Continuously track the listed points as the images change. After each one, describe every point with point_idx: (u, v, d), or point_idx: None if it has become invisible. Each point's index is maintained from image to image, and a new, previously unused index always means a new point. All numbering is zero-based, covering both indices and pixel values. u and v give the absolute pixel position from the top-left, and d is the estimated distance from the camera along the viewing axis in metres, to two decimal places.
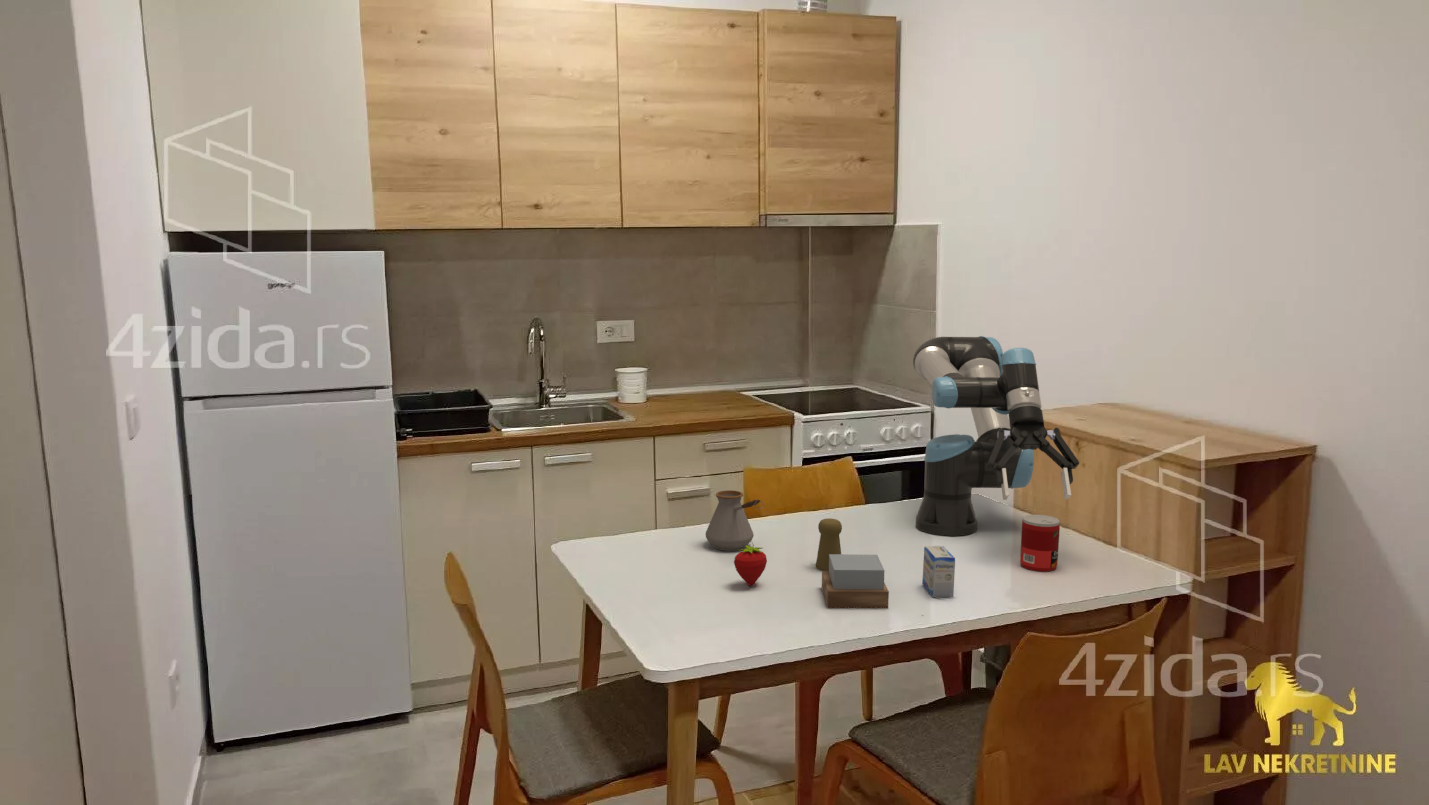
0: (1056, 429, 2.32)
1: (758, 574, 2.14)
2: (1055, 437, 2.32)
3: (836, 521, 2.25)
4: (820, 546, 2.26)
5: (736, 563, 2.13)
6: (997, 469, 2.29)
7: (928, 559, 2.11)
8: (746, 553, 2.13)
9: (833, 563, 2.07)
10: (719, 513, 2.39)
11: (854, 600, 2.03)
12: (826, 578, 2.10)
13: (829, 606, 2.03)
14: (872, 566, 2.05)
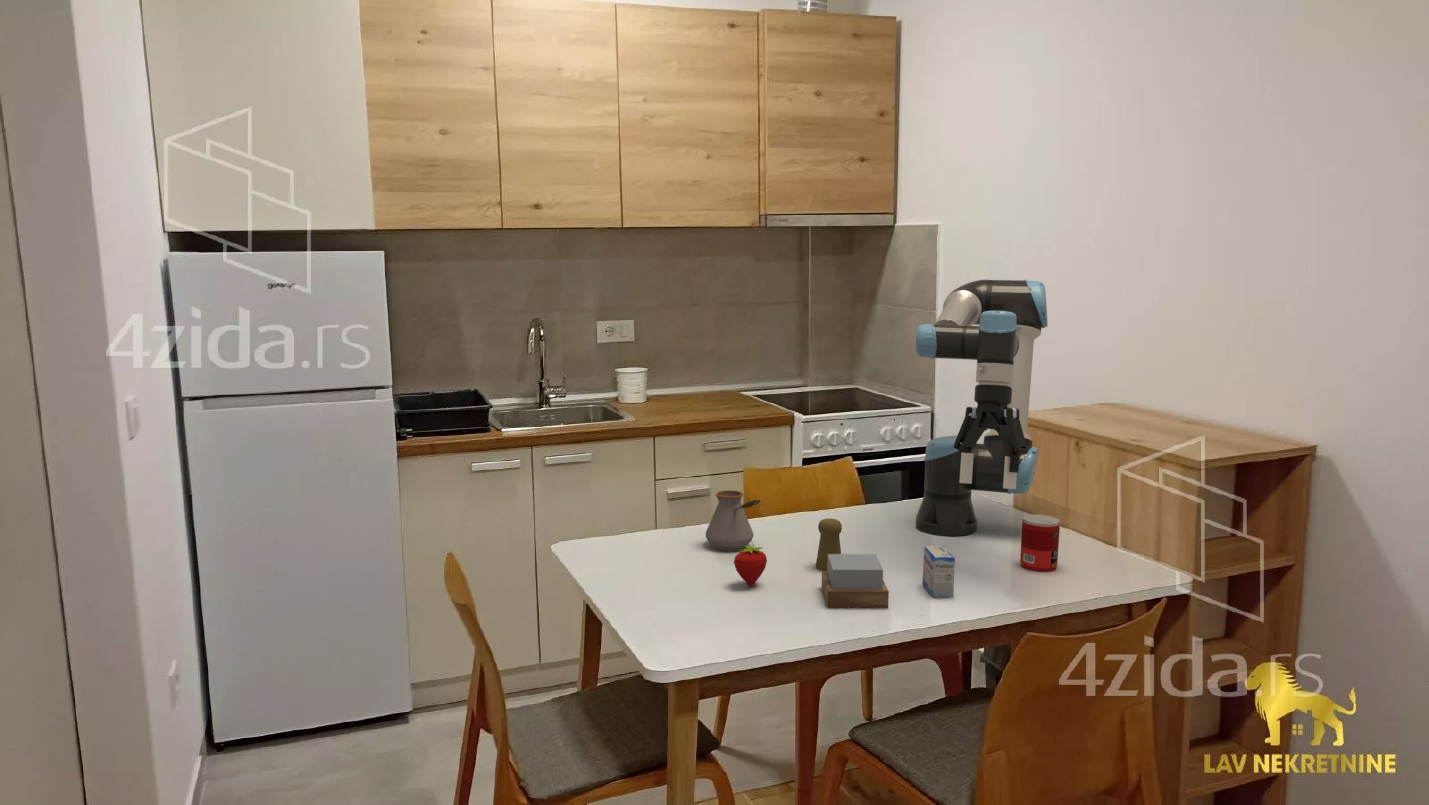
0: (1007, 410, 2.08)
1: (758, 574, 2.14)
2: None
3: (836, 521, 2.25)
4: (820, 546, 2.26)
5: (736, 563, 2.13)
6: (960, 452, 2.21)
7: (928, 559, 2.11)
8: (746, 553, 2.13)
9: (832, 563, 2.07)
10: (719, 513, 2.39)
11: (854, 600, 2.03)
12: (826, 578, 2.10)
13: (829, 606, 2.03)
14: (870, 566, 2.05)
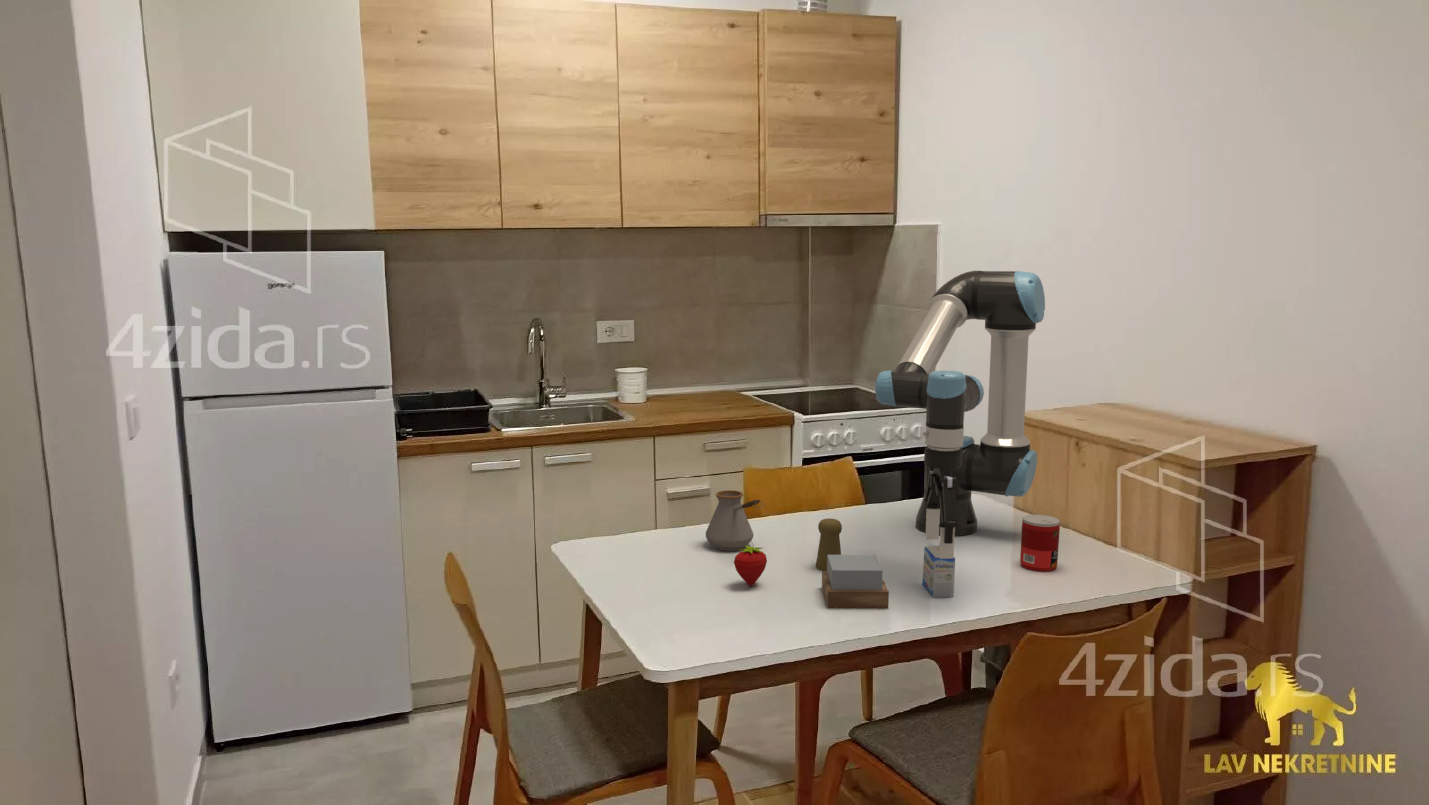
0: (942, 479, 2.02)
1: (758, 574, 2.14)
2: None
3: (836, 521, 2.25)
4: (820, 546, 2.26)
5: (736, 563, 2.13)
6: (928, 507, 2.18)
7: (928, 559, 2.11)
8: (746, 553, 2.13)
9: (831, 563, 2.07)
10: (719, 513, 2.39)
11: (854, 600, 2.03)
12: (826, 578, 2.10)
13: (829, 606, 2.03)
14: (870, 566, 2.05)
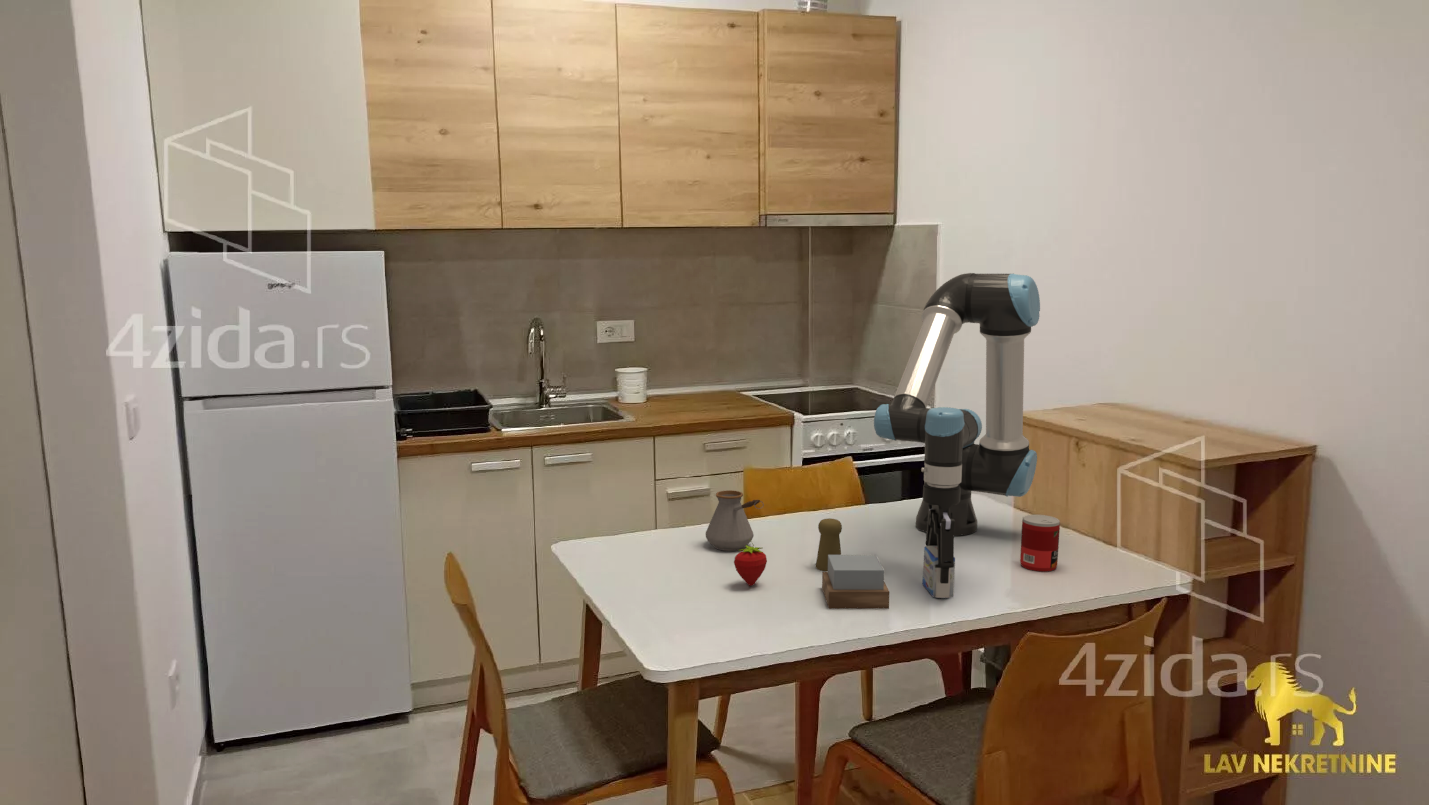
0: (941, 521, 2.04)
1: (758, 574, 2.14)
2: None
3: (836, 521, 2.25)
4: (820, 546, 2.26)
5: (736, 563, 2.13)
6: None
7: (928, 559, 2.11)
8: (746, 553, 2.13)
9: (832, 563, 2.07)
10: (719, 513, 2.39)
11: (854, 600, 2.03)
12: (826, 578, 2.10)
13: (830, 606, 2.03)
14: (871, 566, 2.05)
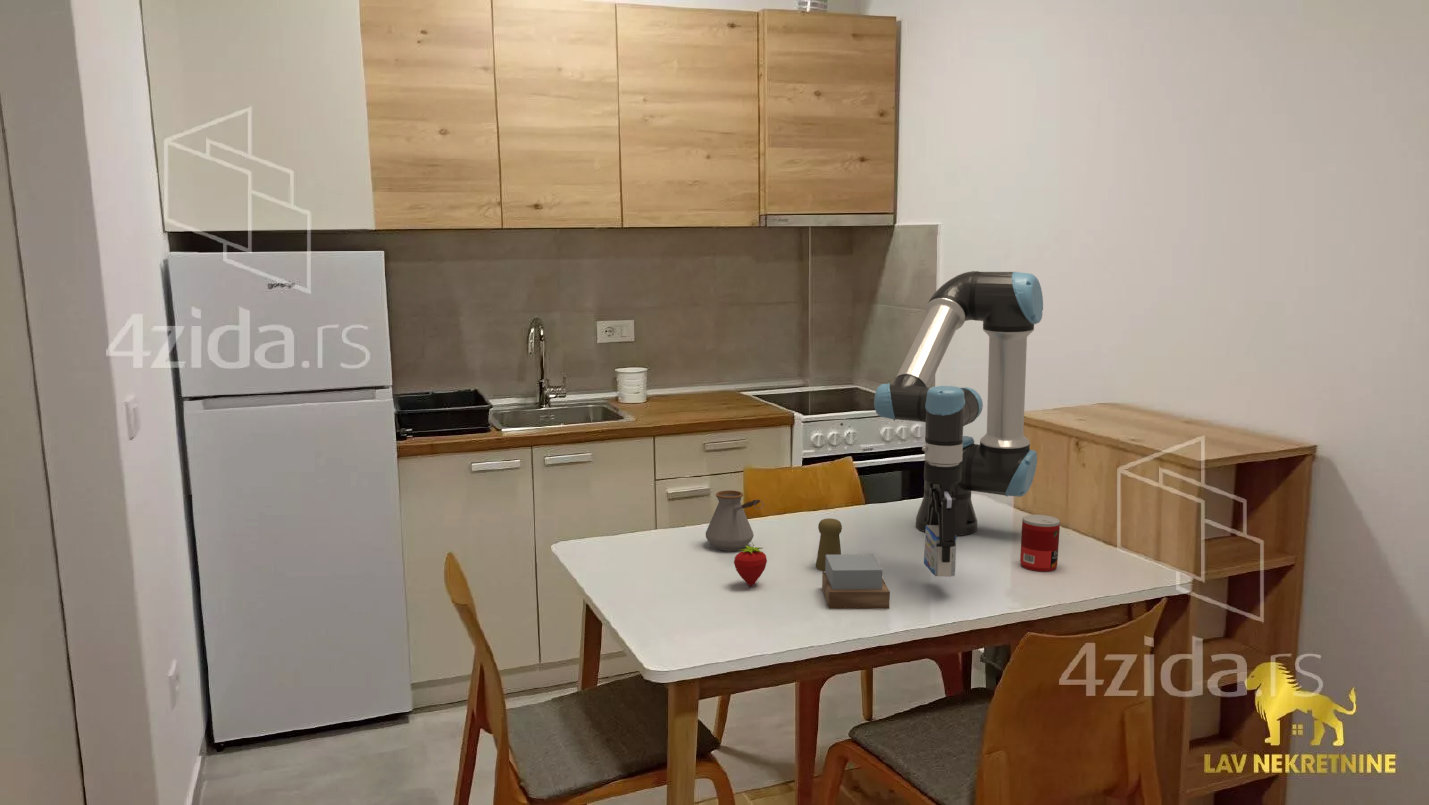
0: (942, 500, 2.03)
1: (758, 574, 2.14)
2: None
3: (836, 521, 2.25)
4: (820, 546, 2.26)
5: (736, 563, 2.13)
6: None
7: (930, 538, 2.11)
8: (746, 553, 2.13)
9: (831, 563, 2.07)
10: (719, 513, 2.39)
11: (855, 600, 2.02)
12: (826, 578, 2.10)
13: (830, 607, 2.03)
14: (869, 566, 2.05)
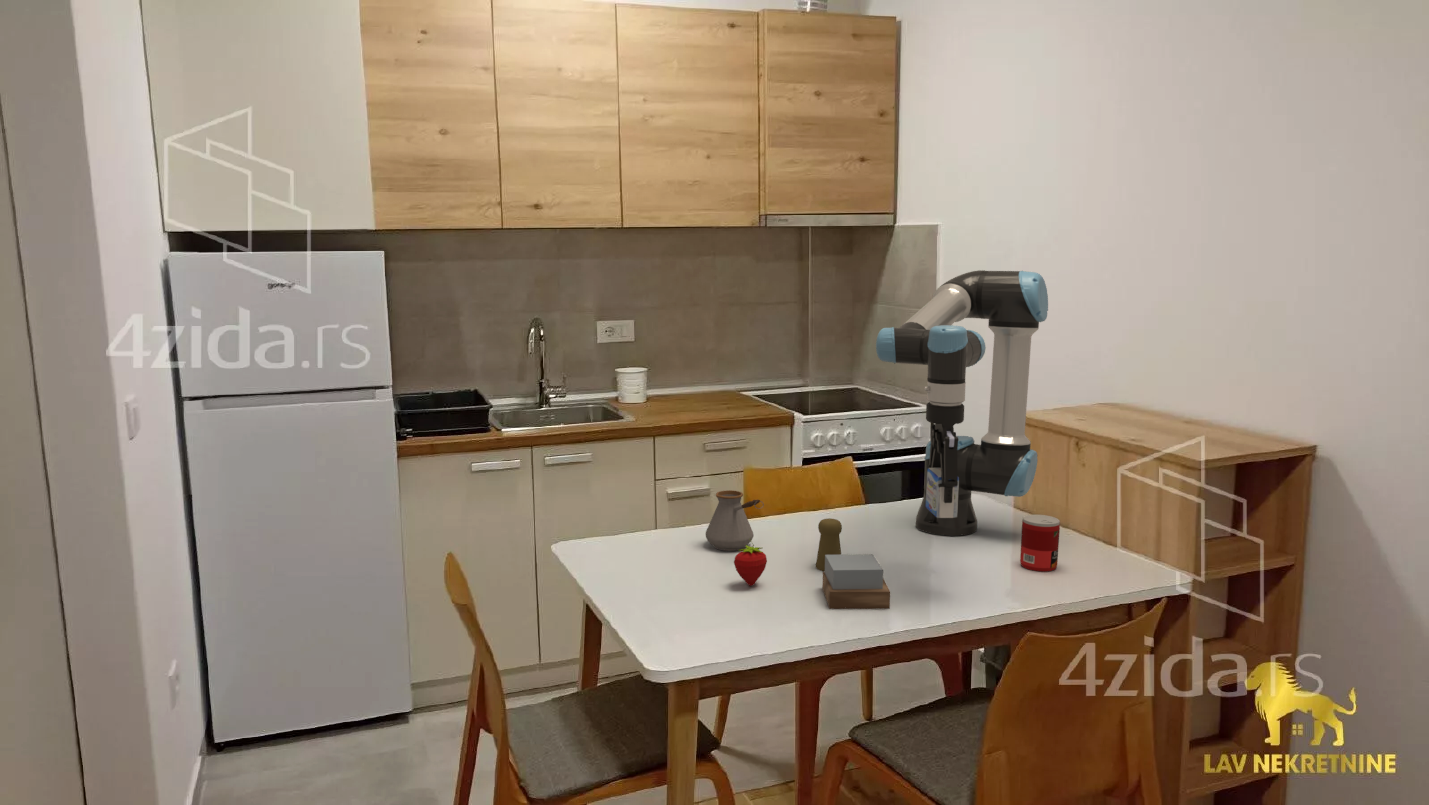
0: (944, 438, 2.01)
1: (758, 574, 2.14)
2: None
3: (836, 521, 2.25)
4: (820, 546, 2.26)
5: (736, 563, 2.13)
6: None
7: (932, 480, 2.09)
8: (746, 553, 2.13)
9: (831, 563, 2.07)
10: (719, 513, 2.39)
11: (855, 600, 2.02)
12: None
13: (831, 606, 2.03)
14: (870, 566, 2.05)
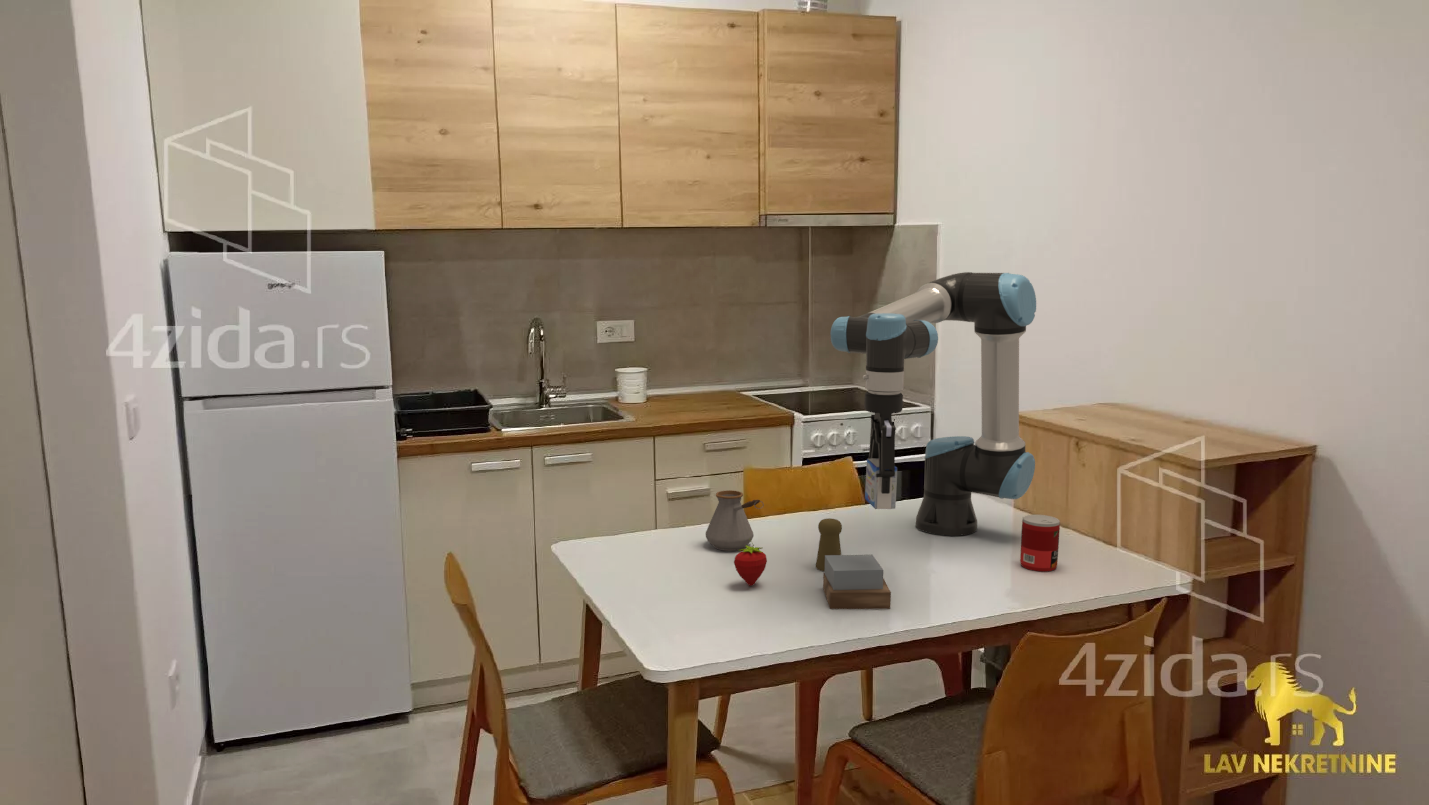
0: (882, 427, 1.98)
1: (758, 574, 2.14)
2: None
3: (836, 521, 2.25)
4: (820, 546, 2.26)
5: (736, 563, 2.13)
6: None
7: (870, 471, 2.05)
8: (746, 553, 2.13)
9: (831, 564, 2.07)
10: (719, 513, 2.39)
11: (856, 601, 2.02)
12: (827, 579, 2.10)
13: (831, 607, 2.02)
14: (870, 566, 2.05)
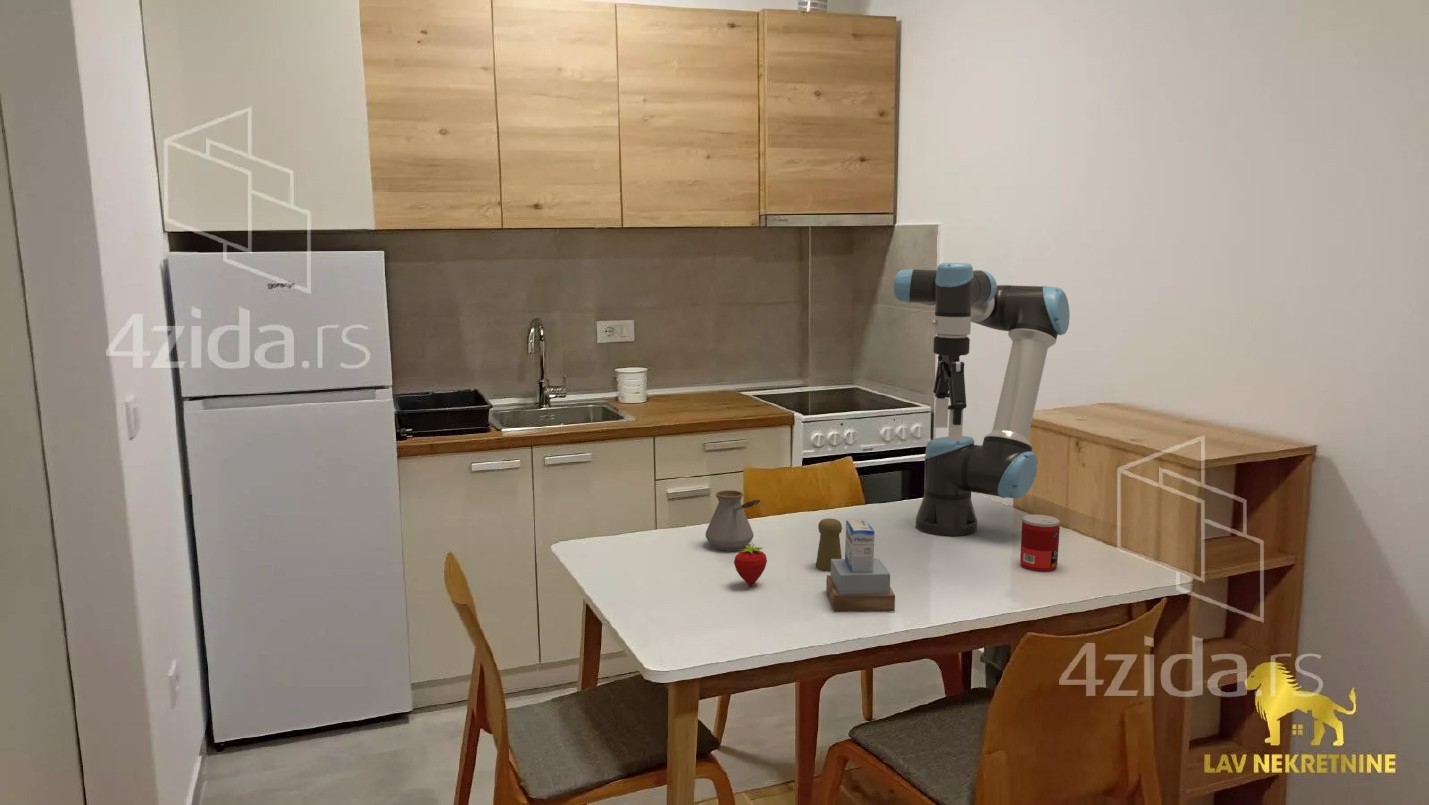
0: (951, 364, 2.13)
1: (758, 574, 2.14)
2: None
3: (836, 521, 2.25)
4: (820, 546, 2.26)
5: (736, 563, 2.13)
6: None
7: (849, 533, 2.05)
8: (746, 553, 2.13)
9: (837, 568, 2.04)
10: (719, 513, 2.39)
11: (860, 604, 2.01)
12: (831, 582, 2.08)
13: (835, 610, 2.01)
14: (877, 570, 2.03)
